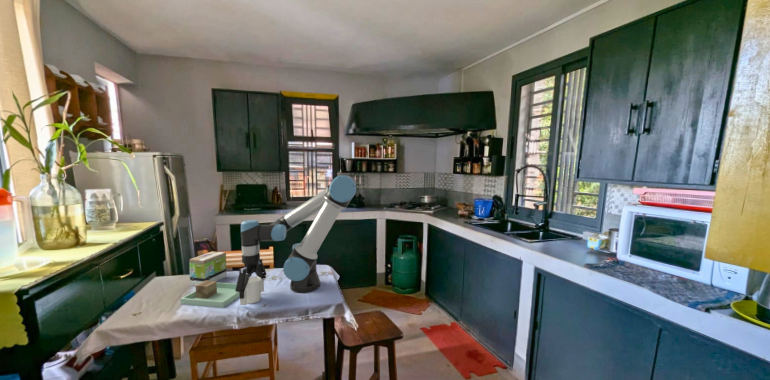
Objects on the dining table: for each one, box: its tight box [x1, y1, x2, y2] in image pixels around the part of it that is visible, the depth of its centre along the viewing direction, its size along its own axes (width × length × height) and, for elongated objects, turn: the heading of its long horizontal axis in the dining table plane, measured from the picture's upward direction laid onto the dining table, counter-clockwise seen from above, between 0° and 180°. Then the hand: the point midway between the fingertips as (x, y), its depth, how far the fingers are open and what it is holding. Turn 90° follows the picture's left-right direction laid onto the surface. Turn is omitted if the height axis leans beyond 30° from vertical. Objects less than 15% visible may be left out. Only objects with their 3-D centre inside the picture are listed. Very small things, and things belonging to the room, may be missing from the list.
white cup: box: [245, 276, 262, 304], centre depth 132 cm, size 8×8×10 cm
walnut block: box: [195, 281, 217, 299], centre depth 136 cm, size 6×6×6 cm
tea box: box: [188, 250, 228, 287], centre depth 153 cm, size 15×10×15 cm
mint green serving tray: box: [179, 281, 240, 308], centre depth 135 cm, size 22×19×3 cm
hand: (252, 297), depth 132 cm, fingers open, 12 cm apart
